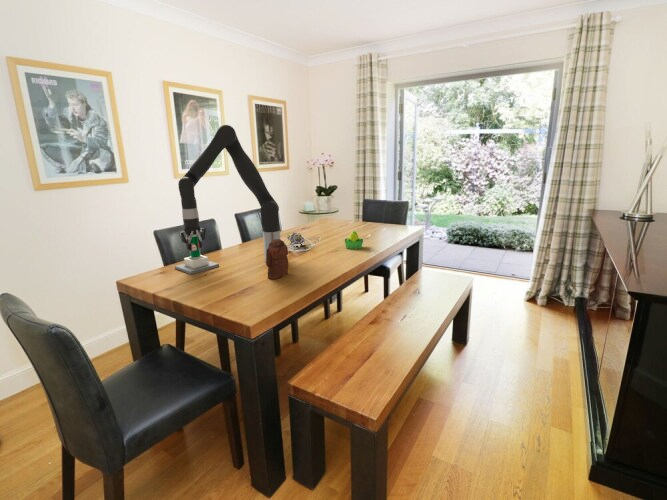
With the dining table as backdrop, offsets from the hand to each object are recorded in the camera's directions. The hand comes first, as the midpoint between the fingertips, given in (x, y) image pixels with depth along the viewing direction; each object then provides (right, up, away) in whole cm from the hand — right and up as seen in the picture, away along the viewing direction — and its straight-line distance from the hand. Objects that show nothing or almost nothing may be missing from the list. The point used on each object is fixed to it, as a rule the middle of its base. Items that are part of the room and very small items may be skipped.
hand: (194, 249), depth 182 cm
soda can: (0, -4, +1) cm, 4 cm away
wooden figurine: (+45, -13, -13) cm, 49 cm away
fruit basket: (+85, +1, +34) cm, 91 cm away
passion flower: (+49, +1, +40) cm, 63 cm away
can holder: (0, -10, +3) cm, 10 cm away
